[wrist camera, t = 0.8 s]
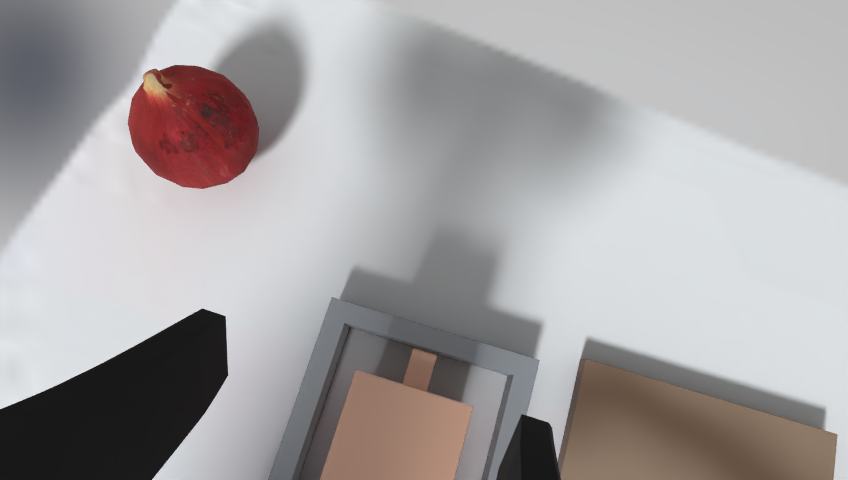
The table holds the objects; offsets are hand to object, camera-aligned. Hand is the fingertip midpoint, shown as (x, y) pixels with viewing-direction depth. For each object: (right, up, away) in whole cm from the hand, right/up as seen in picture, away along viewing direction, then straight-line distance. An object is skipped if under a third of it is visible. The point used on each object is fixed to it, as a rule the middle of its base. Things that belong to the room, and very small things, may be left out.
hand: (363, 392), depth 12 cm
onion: (-10, +8, +18) cm, 22 cm away
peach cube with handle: (0, -6, +14) cm, 15 cm away
